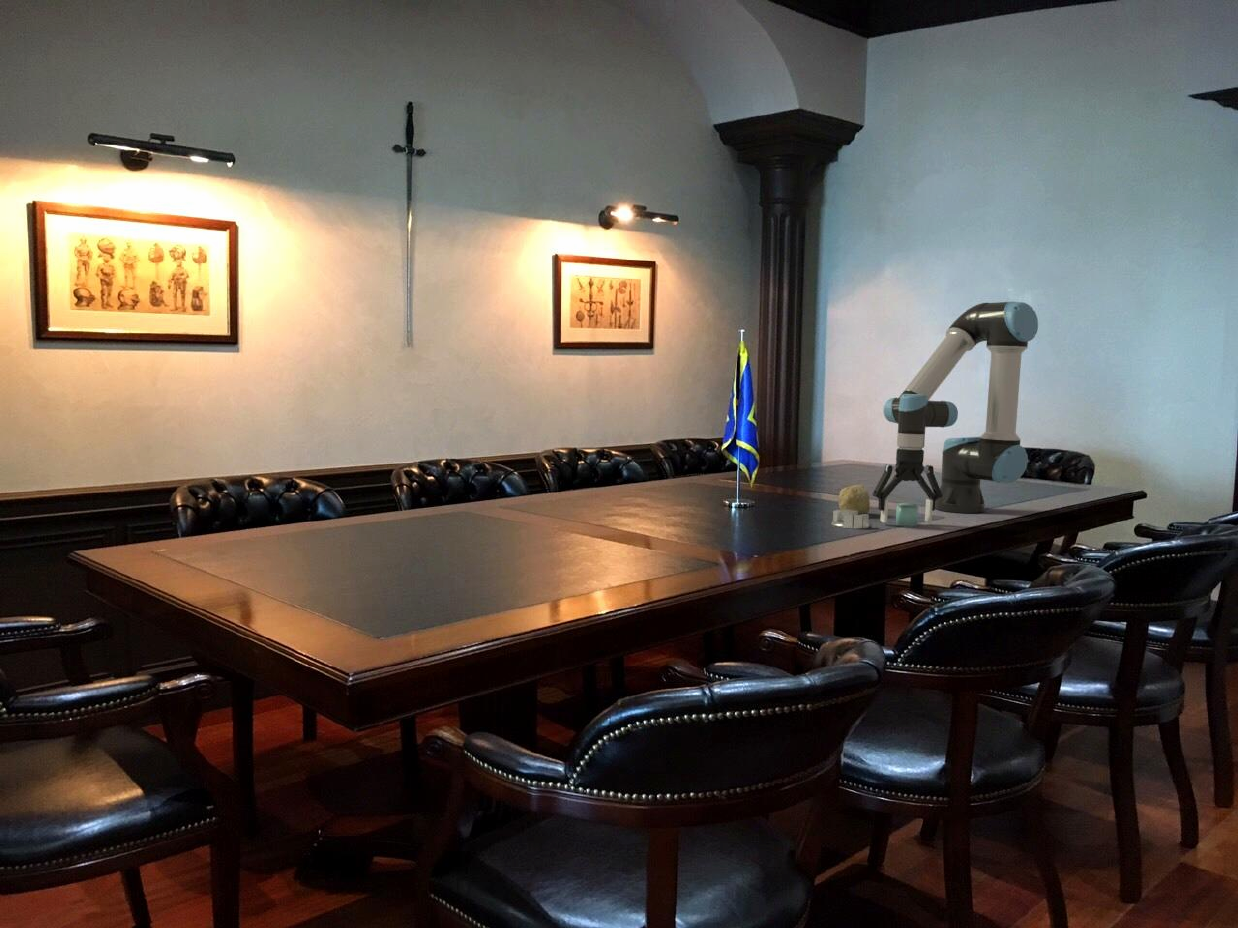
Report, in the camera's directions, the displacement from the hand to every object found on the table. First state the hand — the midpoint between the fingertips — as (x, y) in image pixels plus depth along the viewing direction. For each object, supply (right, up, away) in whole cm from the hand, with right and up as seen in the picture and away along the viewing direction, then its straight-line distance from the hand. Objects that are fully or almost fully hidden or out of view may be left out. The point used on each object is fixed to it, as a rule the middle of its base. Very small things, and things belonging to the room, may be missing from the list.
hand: (905, 522), depth 297 cm
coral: (-12, +1, +16) cm, 20 cm away
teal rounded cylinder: (0, -1, 0) cm, 1 cm away
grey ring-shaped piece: (-17, -1, -3) cm, 17 cm away
